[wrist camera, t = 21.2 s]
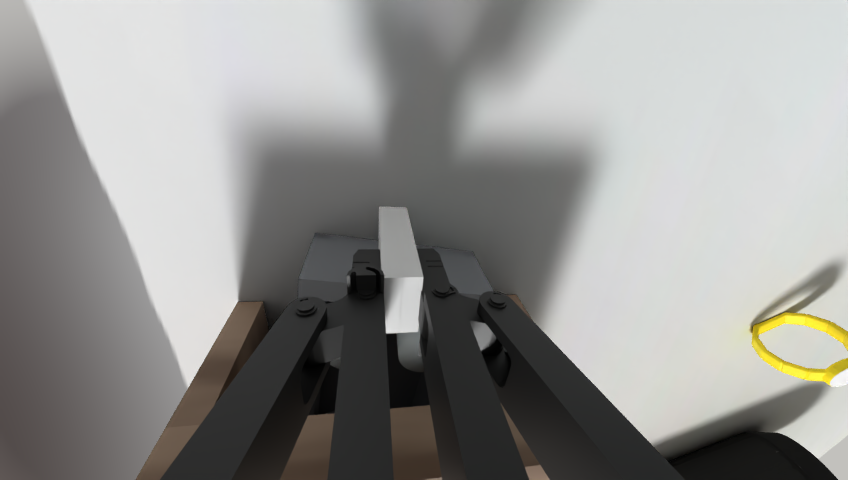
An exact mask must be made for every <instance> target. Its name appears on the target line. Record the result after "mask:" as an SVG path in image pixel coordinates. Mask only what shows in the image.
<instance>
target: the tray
mask: <svg viewBox="0 0 848 480" xmlns="http://www.w3.org/2000/svg"><path fill="white" fill-rule="evenodd" d="M378 245H379V240H371V239H362V238H354V237H345V236H337V235H328V234H320V233H315V234H314V237H313V240H312V243H311V245H310V248H309V251H308V254H307V257H306V259H305V262H304V265H303V268H302V270H301V273H300V276H299V279H298V299H299V298H303V297H317V298H320V299H322V300H323V301H324V302H325V304H328V303H332V302H335V301H338V300H340V299H342V298H343V297H345V296H346V295H347V274H348V272H349V271H350V270H351V269H352V263H353V255H354V254H355V253H356V252H357V250H358V249H378ZM416 248H417V249H430V248H433V249H434V250H435V251H437V252H438V253H439V254H440V257H441V260H442V263H443V265H444V268H445V271H446V274H447V277H448V279H449V282H450V284H452V285H453V286H454V287H456V289H457V290H458V292H459V294H460V295H462V296H465V297H469V298H474V299H479V298H480V296H481V295H482V293H485V292H487V291H493V289H492V287H491V285H490V283H489V282H488V280H487V278H486V276H485V274H484V272H483V270H482V268H481V267H480V265H479V263H478V261H477V259H476V257H475V255H474V253H473V252H472V251H464V250H455V249H447V248H438V247H430V246H421V245H416ZM419 341H420V327H418V332H408V333H386V342H387V361H388V380H389V399H390V409H392V408H403V407H415V406H427V405H430V403H429V397H428V391H427V385H426V379H425V373H424V367H423V361H422V355H421V356H418V350H419ZM339 367H340V358H338V359H335V360H332V361H331V363H330V366H329V369H328V371H327V373H326V375H325V378H324V380H323V382H322V385H321V387H320V389H319V391H318V394H317V396H316V398H315V401H314V403H313V405H312V407H311V410H310V412H309V414H308V416H309V415H321V414H333V413H335V404H336V395H337V386H338V376H339Z"/></svg>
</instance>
